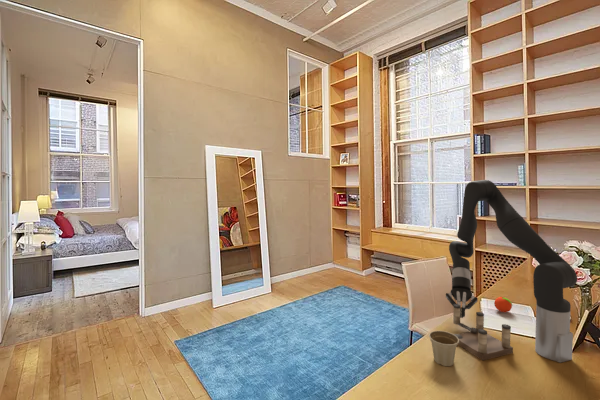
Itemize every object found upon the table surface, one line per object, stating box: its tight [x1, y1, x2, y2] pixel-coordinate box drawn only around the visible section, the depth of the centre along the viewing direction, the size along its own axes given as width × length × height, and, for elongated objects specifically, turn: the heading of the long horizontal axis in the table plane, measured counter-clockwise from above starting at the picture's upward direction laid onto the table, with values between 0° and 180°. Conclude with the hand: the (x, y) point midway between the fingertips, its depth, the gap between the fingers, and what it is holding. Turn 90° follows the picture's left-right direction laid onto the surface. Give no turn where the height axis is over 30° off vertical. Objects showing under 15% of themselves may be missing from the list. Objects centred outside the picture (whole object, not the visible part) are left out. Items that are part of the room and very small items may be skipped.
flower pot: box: [428, 330, 459, 367], centre depth 104 cm, size 9×9×9 cm
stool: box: [453, 311, 514, 361], centre depth 113 cm, size 14×14×10 cm
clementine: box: [493, 296, 513, 313], centre depth 141 cm, size 8×7×7 cm
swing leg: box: [452, 303, 477, 333], centre depth 122 cm, size 10×3×8 cm, turn 21°
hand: (461, 317), depth 126 cm, fingers closed
